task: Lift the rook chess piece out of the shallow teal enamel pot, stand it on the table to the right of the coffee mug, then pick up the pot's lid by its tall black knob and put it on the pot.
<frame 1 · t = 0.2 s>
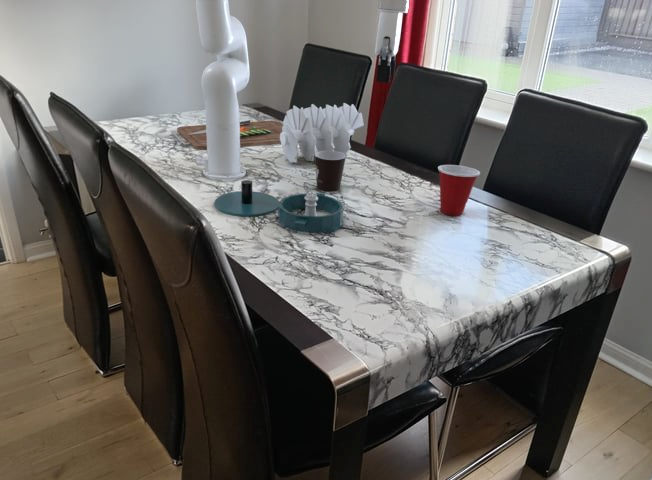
hand: (385, 79, 148), 31 cm above the table, tool pointing down, fingers open, 9 cm apart
plastic cup: (451, 212, 154), on the table
chopping board: (239, 136, 209), on the table
lid: (247, 204, 150), point 1 cm above the table
pot: (310, 221, 143), on the table
rook chess piece: (309, 226, 140), resting on pot
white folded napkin: (316, 160, 189), on the table
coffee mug: (329, 188, 166), on the table
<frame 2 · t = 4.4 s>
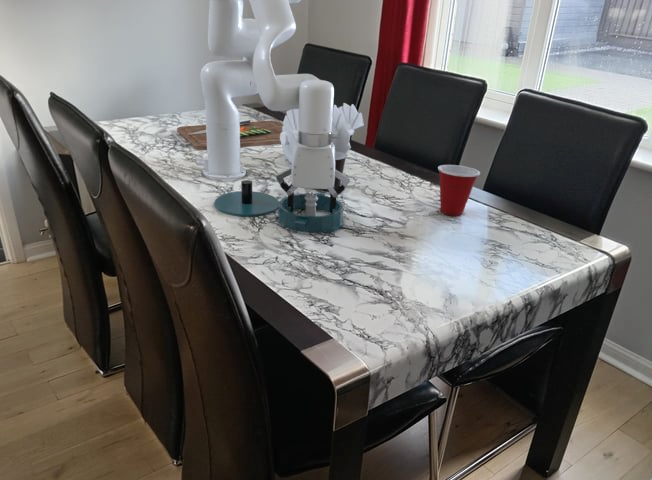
hand: (311, 210, 138), 4 cm above the table, tool pointing down, fingers open, 9 cm apart
nothing on the table moved.
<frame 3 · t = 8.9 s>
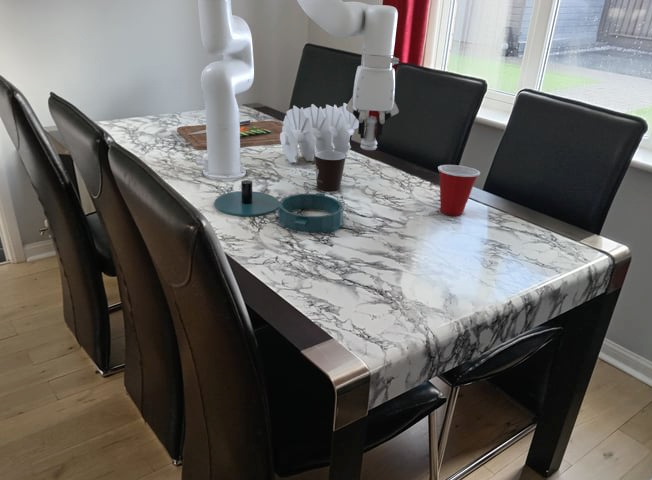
hand: (369, 136, 148), 18 cm above the table, tool pointing down, fingers closed on rook chess piece, 3 cm apart
rook chess piece: (368, 148, 150), point 15 cm above the table, touching gripper
everything else where it was.
when the fingers open (3 cm above the table, at t = 12.8 s): rook chess piece stays where it is, on the table.
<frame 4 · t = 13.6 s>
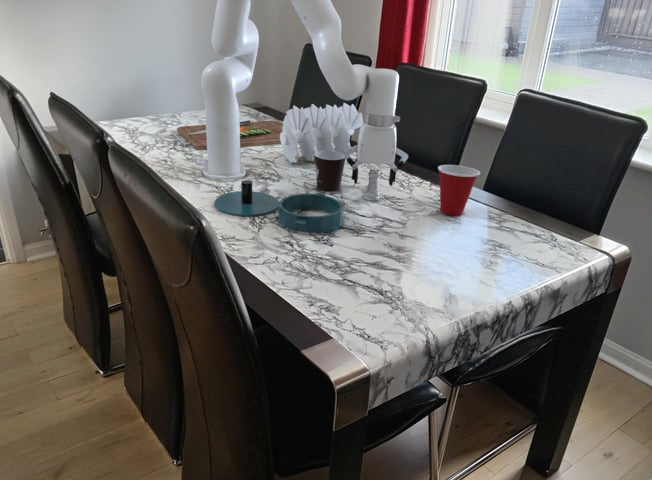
hand: (372, 183, 158), 4 cm above the table, tool pointing down, fingers open, 9 cm apart
rook chess piece: (371, 199, 160), on the table
everything else where it was.
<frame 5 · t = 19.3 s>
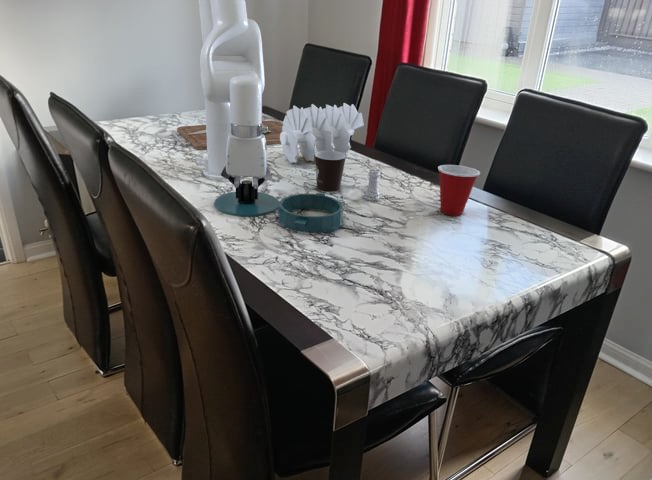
hand: (246, 200, 149), 2 cm above the table, tool pointing down, fingers closed on lid, 2 cm apart
lid: (247, 204, 150), point 1 cm above the table, touching gripper
everything else where it was.
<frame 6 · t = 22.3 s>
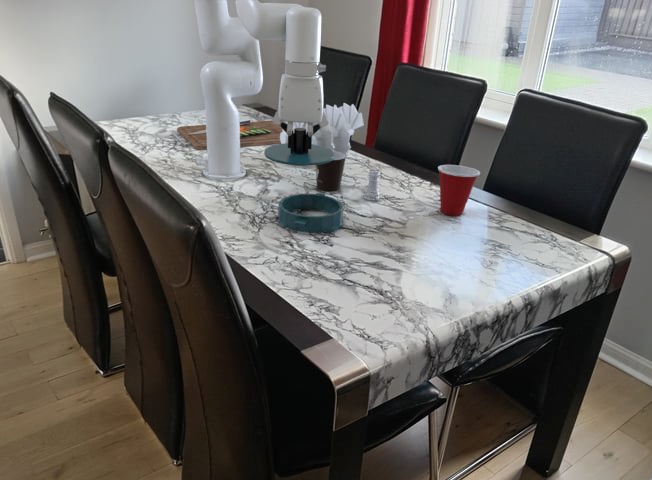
hand: (299, 150, 136), 17 cm above the table, tool pointing down, fingers closed on lid, 2 cm apart
lid: (299, 155, 136), point 16 cm above the table, touching gripper
everything else where it was.
when the fingers open (5 cm above the table, at t = 25.5 s): lid stays where it is, resting on pot.
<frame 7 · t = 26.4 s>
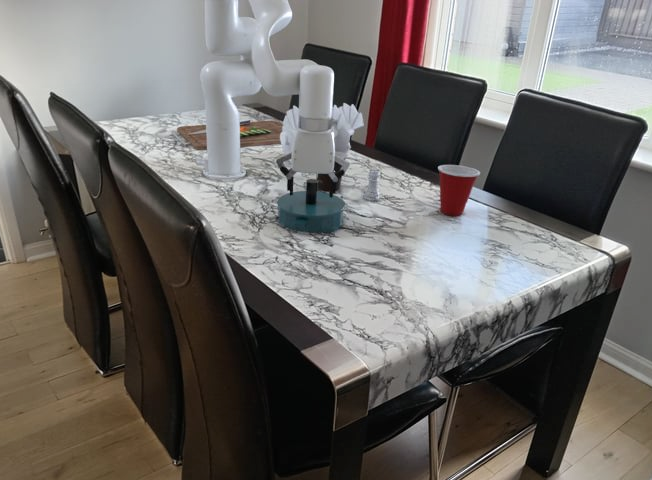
hand: (311, 194, 140), 7 cm above the table, tool pointing down, fingers open, 9 cm apart
lid: (311, 204, 141), point 4 cm above the table, touching pot
everything else where it was.
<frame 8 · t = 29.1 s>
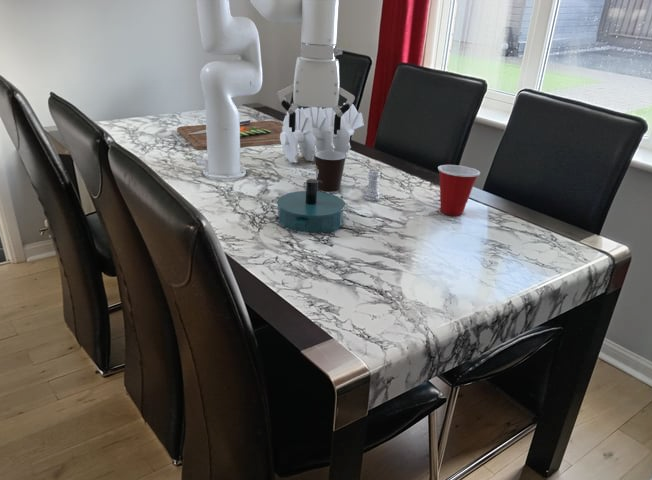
hand: (314, 131, 132), 22 cm above the table, tool pointing down, fingers open, 9 cm apart
nothing on the table moved.
at the end: rook chess piece inside the target area (0.0 cm from its centre), on the table; rook chess piece tilted 0°; lid 0.1 cm off-centre on the pot, point 4.5 cm above the pot's base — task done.
